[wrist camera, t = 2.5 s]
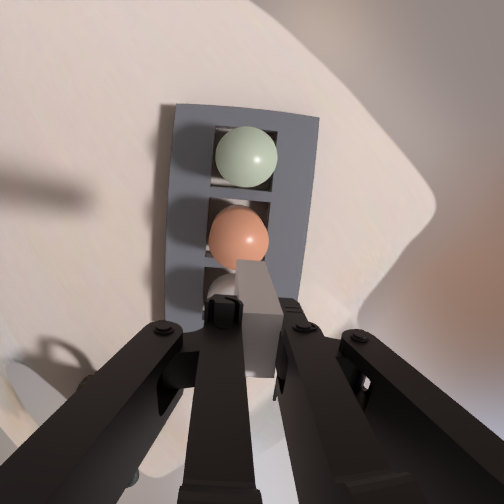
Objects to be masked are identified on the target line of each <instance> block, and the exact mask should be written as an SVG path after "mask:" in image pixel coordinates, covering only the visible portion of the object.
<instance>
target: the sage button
mask: <svg viewBox="0 0 504 504" xmlns="http://www.w3.org/2000/svg"><path fill="white" fill-rule="evenodd" d="M215 160H216V165H217V168H218V170H219V172H220V174H221V175H222V176H223V177H224V178H225V179H226V180H227V181H228V182H230V183H231V184H234V185H236V186H239V187H253V186H257V185H259V184H261V183H263V182H265V181H266V180H267V179H268V178H269V177H270V176H271V175H272V173H273V172H274V170H275V168H276V164H277V149H276V146H275V144H274V142H273V140H272V139H271V138H270V136H269V135H268V134H266V133H265V132H264V131H262V130H260V129H258V128H255V127H250V126H244V127H238V128H235V129H233V130H231V131H229V132H228V133H226V134H225V135H224V136H223V137H222V139H221V140H220V142H219V143H218V146H217V149H216V153H215Z"/></svg>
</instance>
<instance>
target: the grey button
mask: <svg viewBox="0 0 504 504" xmlns="http://www.w3.org/2000/svg"><path fill="white" fill-rule="evenodd" d="M235 275H236V274H225V275H222V276H220V277H218V278H217V279H215V280H214V281H213V282H212V284H211V285H210V287H209V290H208V295H207V298H210V297H211V296H213V295H214V294H223V295H234V287H235Z"/></svg>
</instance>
